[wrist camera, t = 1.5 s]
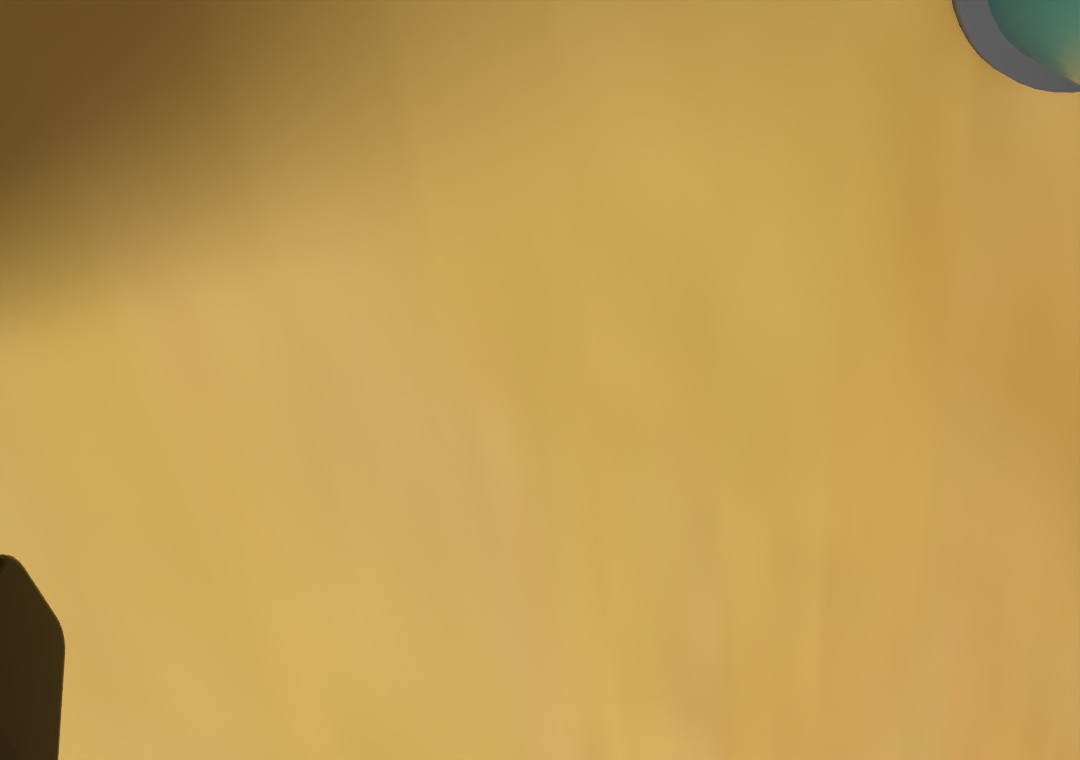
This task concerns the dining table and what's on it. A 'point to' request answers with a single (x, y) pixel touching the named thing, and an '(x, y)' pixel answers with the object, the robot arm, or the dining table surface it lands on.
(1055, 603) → the dining table surface
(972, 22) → the coaster
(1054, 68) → the teal rounded block
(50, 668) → the robot arm
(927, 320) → the dining table surface
